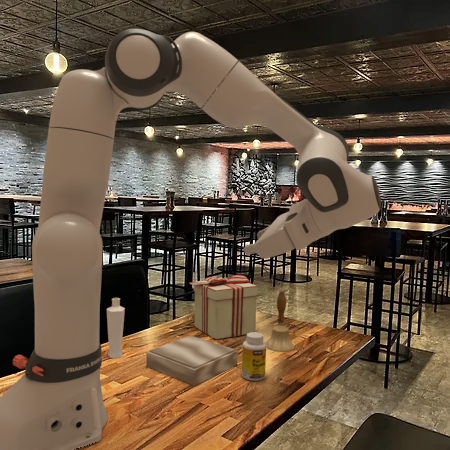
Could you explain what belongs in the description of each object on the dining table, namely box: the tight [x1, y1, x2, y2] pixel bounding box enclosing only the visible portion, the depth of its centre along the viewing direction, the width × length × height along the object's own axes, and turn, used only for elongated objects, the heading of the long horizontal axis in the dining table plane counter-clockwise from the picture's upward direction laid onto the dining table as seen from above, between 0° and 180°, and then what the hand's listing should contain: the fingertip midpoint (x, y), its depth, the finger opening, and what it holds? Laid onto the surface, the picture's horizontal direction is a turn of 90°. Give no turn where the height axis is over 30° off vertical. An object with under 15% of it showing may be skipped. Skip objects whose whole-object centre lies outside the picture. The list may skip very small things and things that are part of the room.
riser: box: [145, 335, 239, 387], centre depth 108 cm, size 16×16×4 cm
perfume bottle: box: [106, 297, 126, 359], centre depth 112 cm, size 5×4×15 cm
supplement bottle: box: [241, 331, 267, 382], centre depth 103 cm, size 6×6×10 cm
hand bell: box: [266, 290, 295, 353], centre depth 123 cm, size 8×8×16 cm
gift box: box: [188, 274, 259, 340], centre depth 137 cm, size 17×18×17 cm
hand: (252, 243), depth 100 cm, fingers open, 8 cm apart
